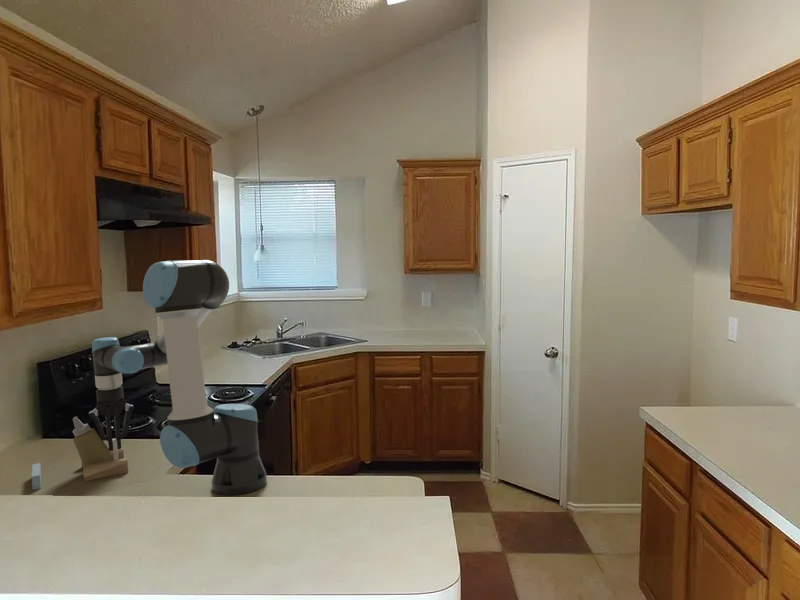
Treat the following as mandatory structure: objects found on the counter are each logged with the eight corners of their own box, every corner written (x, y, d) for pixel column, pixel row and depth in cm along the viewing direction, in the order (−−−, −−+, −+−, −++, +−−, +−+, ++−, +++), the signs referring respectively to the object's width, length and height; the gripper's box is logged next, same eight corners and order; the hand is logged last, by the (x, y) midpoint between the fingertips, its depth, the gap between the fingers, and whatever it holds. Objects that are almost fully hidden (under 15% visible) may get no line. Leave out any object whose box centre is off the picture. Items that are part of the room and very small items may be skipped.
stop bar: (40, 488, 168) (39, 475, 168) (32, 490, 167) (31, 476, 167) (41, 475, 179) (40, 462, 178) (33, 477, 178) (32, 464, 177)
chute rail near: (128, 472, 179) (127, 459, 179) (84, 481, 173) (83, 468, 173) (127, 470, 181) (126, 457, 181) (83, 479, 175) (82, 466, 175)
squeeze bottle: (118, 455, 186) (92, 407, 181) (109, 468, 178) (82, 419, 173) (94, 464, 186) (67, 416, 181) (84, 478, 178) (55, 428, 173)
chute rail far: (124, 461, 190) (123, 449, 189) (82, 468, 183) (81, 456, 183) (123, 459, 191) (122, 447, 191) (81, 467, 185) (80, 454, 185)
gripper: (130, 381, 188) (136, 451, 191) (86, 387, 182) (92, 460, 185) (133, 386, 182) (139, 458, 185) (86, 392, 176) (94, 468, 178)
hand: (116, 459), depth 185 cm, fingers closed
